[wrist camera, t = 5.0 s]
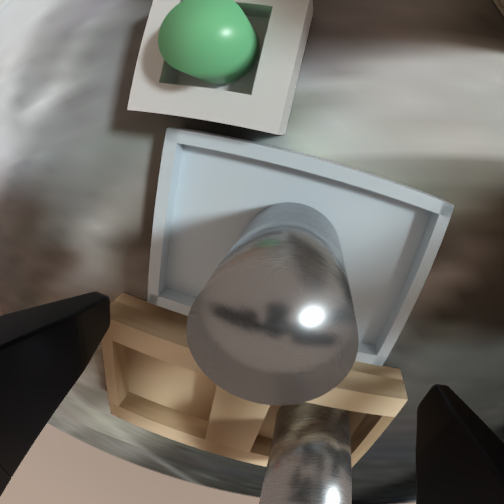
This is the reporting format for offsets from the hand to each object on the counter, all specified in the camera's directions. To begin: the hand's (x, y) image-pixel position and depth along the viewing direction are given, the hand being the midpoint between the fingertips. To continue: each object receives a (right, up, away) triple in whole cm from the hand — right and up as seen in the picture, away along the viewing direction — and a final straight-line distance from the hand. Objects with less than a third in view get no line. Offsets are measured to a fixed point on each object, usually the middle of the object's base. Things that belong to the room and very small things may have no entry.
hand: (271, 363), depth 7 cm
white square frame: (-1, +11, +5) cm, 12 cm away
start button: (-2, +11, +3) cm, 11 cm away
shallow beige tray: (-1, -6, +11) cm, 13 cm away
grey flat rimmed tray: (+1, +3, +7) cm, 8 cm away
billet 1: (+1, +3, +7) cm, 8 cm away
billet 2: (+3, -8, +10) cm, 13 cm away
